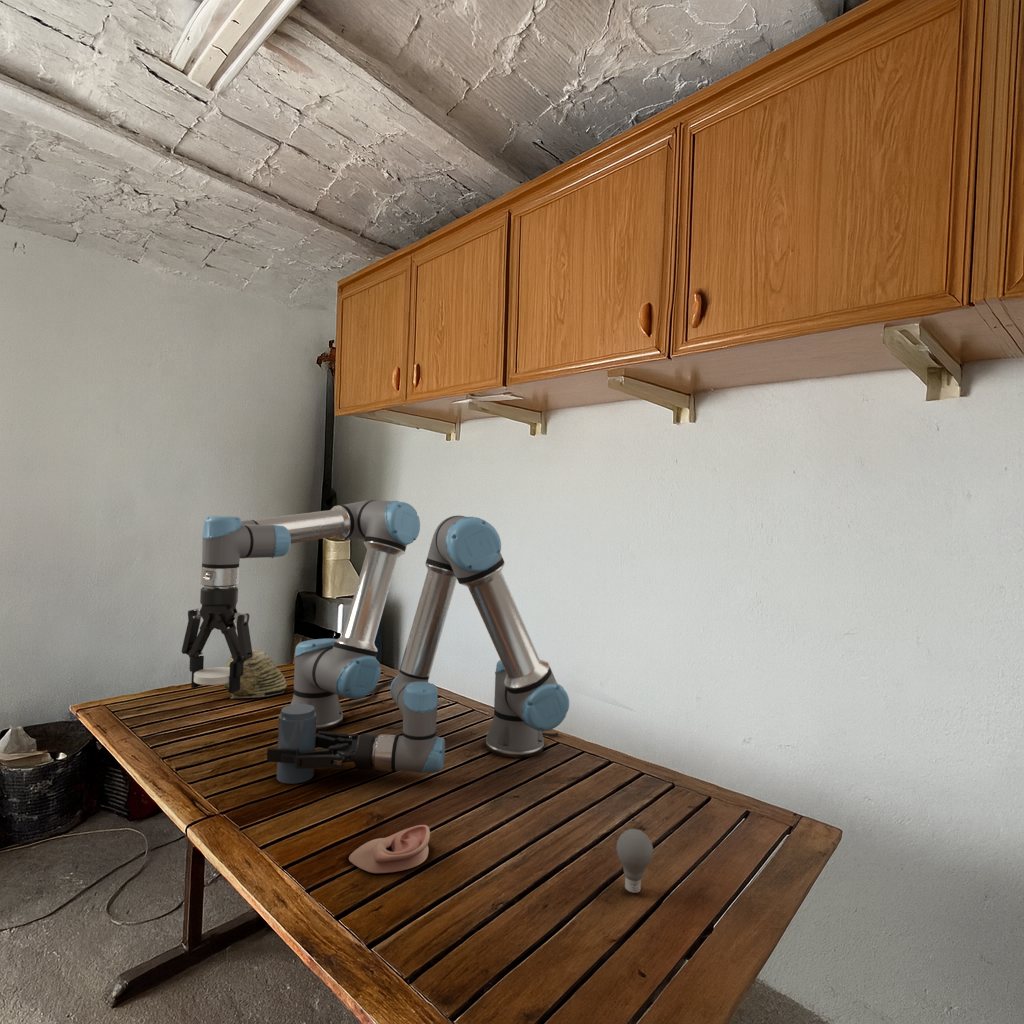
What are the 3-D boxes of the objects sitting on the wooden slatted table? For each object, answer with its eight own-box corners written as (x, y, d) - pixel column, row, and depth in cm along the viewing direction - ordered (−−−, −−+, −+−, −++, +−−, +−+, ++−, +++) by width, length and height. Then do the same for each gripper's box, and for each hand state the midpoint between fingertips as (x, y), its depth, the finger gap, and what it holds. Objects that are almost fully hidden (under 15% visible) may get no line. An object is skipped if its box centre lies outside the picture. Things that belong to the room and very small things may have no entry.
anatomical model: (341, 845, 108) (369, 813, 120) (340, 868, 108) (368, 833, 120) (414, 857, 106) (436, 823, 117) (413, 880, 106) (435, 844, 117)
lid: (226, 686, 135) (227, 678, 135) (185, 684, 135) (186, 676, 135) (243, 674, 144) (244, 668, 144) (205, 673, 144) (205, 666, 144)
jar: (275, 770, 145) (278, 704, 145) (312, 766, 149) (315, 701, 148) (277, 785, 138) (279, 716, 138) (316, 780, 141) (318, 713, 141)
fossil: (218, 695, 195) (220, 647, 195) (278, 685, 208) (279, 640, 207) (228, 703, 189) (230, 653, 188) (289, 692, 201) (290, 645, 201)
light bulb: (610, 879, 108) (613, 822, 108) (644, 879, 109) (647, 822, 109) (619, 902, 102) (622, 840, 102) (655, 901, 103) (658, 840, 103)
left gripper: (165, 584, 138) (160, 688, 138) (252, 592, 133) (248, 699, 133) (189, 580, 145) (185, 679, 145) (273, 587, 140) (269, 689, 141)
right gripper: (363, 789, 132) (255, 784, 133) (385, 750, 153) (292, 745, 154) (364, 754, 132) (256, 748, 133) (386, 719, 153) (293, 714, 154)
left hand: (215, 688), depth 139 cm, fingers closed on lid, 9 cm apart
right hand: (275, 746), depth 143 cm, fingers closed on jar, 8 cm apart
